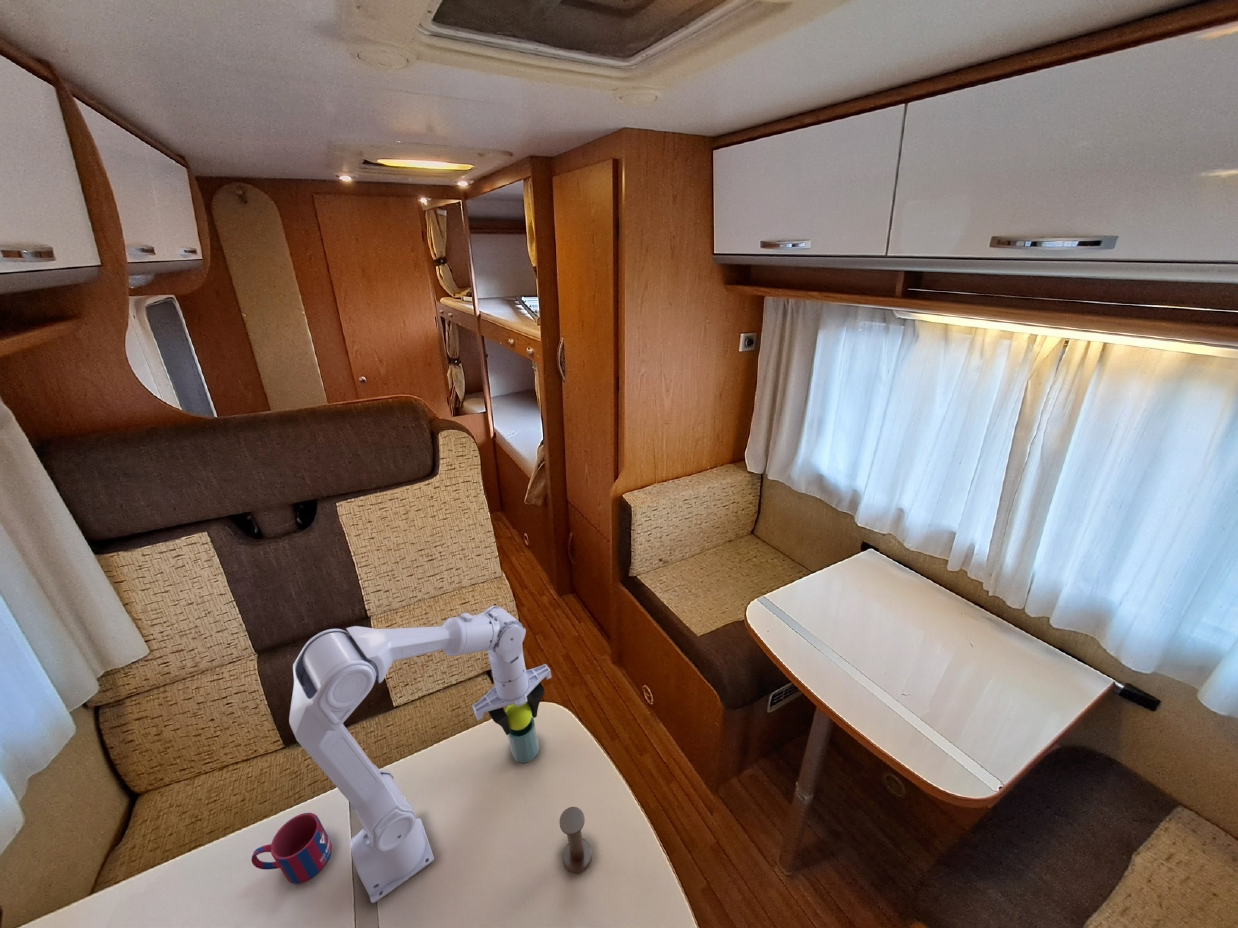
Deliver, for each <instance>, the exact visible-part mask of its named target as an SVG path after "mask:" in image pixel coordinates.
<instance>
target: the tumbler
mask: <svg viewBox="0 0 1238 928" xmlns="http://www.w3.org/2000/svg"><path fill="white" fill-rule="evenodd" d="M509 729H510V734H508V735H507V738H508V739H507V740H508V743H509V747H510V752H511V755H512V759H514V761H516V762H517V763H521V764H525V763H528V762H531V761H532V760H534V759H535V758H536V756H537V755H538V753H539V750H540V744H539V739H538V734H537V727H536V723H535V718H533V716H532V718H531V721H530V723H529V724H528V725H527V726H526V727H525V728H524V729H521V730H513V729H511V728H509Z"/></svg>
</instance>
